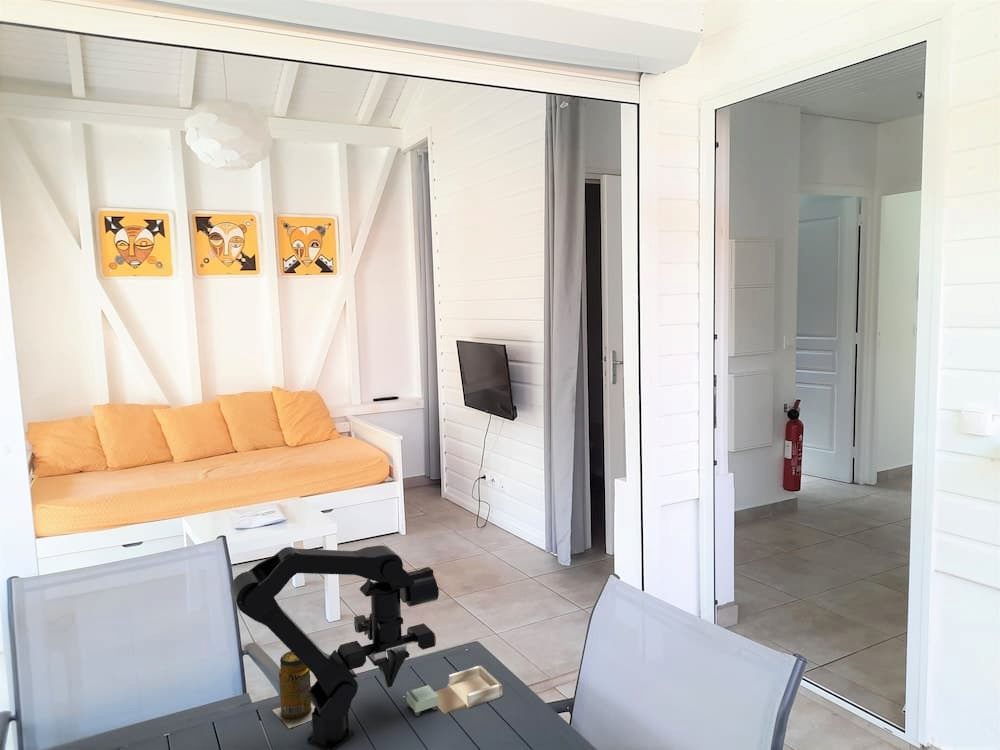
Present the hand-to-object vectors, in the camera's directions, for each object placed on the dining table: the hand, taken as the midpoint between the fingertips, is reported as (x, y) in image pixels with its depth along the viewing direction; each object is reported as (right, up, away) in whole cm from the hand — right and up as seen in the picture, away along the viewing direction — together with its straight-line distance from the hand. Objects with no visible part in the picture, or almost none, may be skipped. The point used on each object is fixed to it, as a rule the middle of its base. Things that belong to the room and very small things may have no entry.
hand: (388, 686), depth 144 cm
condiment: (-19, -7, +4) cm, 21 cm away
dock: (+15, -6, +9) cm, 18 cm away
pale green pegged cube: (+6, -6, +4) cm, 10 cm away
